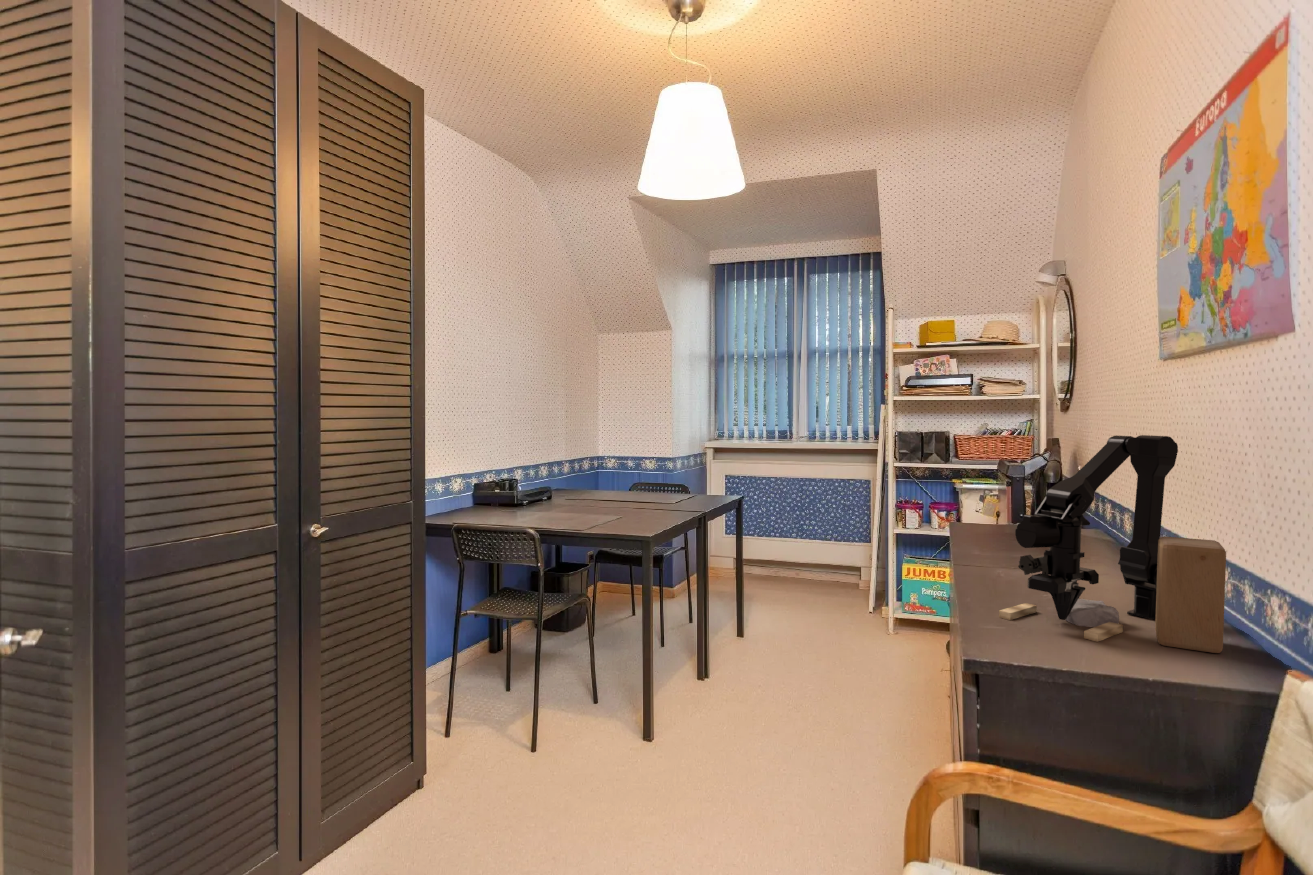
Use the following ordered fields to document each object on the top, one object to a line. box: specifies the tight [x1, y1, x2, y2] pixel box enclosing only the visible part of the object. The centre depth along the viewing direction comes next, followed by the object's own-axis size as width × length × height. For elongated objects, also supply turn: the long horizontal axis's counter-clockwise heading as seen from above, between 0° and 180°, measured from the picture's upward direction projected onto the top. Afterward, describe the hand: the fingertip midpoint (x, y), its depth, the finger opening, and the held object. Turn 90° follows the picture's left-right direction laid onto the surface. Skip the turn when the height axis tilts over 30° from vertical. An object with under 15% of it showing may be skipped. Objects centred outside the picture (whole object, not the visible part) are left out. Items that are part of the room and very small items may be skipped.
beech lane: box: [998, 602, 1124, 643], centre depth 153 cm, size 11×20×2 cm, turn 35°
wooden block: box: [1154, 535, 1227, 654], centre depth 140 cm, size 10×10×20 cm
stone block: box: [1065, 598, 1120, 628], centre depth 157 cm, size 12×5×10 cm
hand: (1062, 619), depth 154 cm, fingers closed
